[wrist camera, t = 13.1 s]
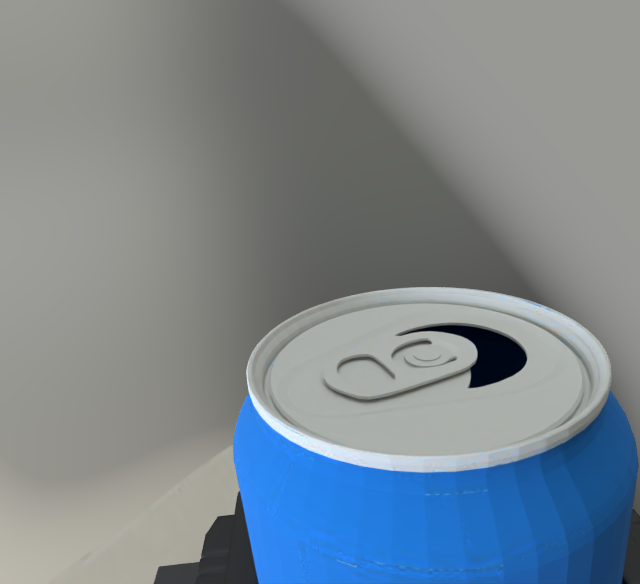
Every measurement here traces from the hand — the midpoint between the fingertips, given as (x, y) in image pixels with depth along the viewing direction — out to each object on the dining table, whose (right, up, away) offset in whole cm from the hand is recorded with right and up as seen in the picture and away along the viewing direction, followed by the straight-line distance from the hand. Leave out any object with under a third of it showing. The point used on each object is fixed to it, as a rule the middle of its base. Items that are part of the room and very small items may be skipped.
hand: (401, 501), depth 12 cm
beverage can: (+1, -7, 0) cm, 7 cm away
